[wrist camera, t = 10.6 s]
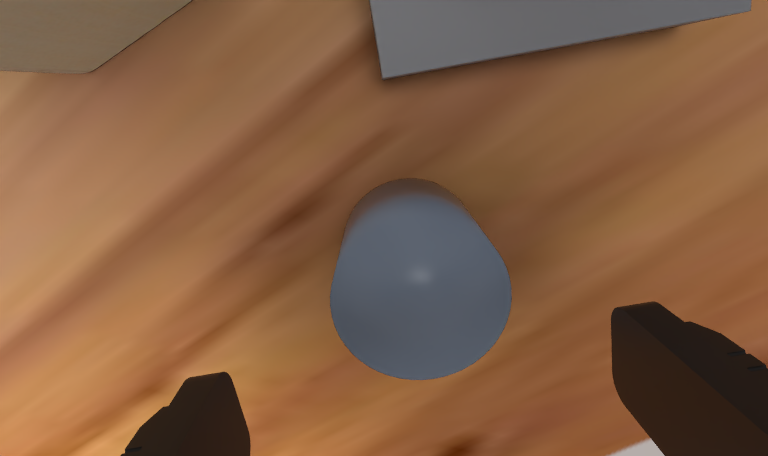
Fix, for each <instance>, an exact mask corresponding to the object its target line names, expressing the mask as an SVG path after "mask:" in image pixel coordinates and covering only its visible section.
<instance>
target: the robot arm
mask: <svg viewBox="0 0 768 456" xmlns="http://www.w3.org/2000/svg"><path fill="white" fill-rule="evenodd" d="M611 336H612V373H613V380H614V384H615V387H616V390H617V392H618V395H619V397H620V399H621V401H622V402H623V404H624V405H625V407H626V408H627V409H628V410H629V412H630V413H631V414H632V415H633V417H634V418H635V419H636V420H637V422H638V423H639V424H640V425H641V427H642V428H643V429H644V430H645V432H646V433H647V434H648V435H649V437H650V438H651V439H652V440H653V441H654V443H655V444H656V445H657V446H658V448H659V449H660V450H661V451H662V453H663V454H664V455H665V456H768V369H767V368H766V365H765V364H764V363H762V362H761V361H760V360H758V359H757V358H755V357H754V356H752V355H751V354H746V353H745V350H744V349H742V348H741V347H739V346H738V345H737V344H735V343H734V342H732V341H731V340H729V339H728V338H727V337H725V336H724V335H722V334H721V333H718V332H716V331H713V330H711V329H708V328H706V327H703V326H701V325H698V324H696V323H693V322H683V321H682V320H681V319H679V318H678V317H677V316H675V315H674V314H673V313H671V312H670V311H669V310H667V309H666V308H665V307H663V306H662V305H661V304H659V303H657V302H647V303H641V304H635V305H629V306H623V307H617V308H615V309H614V310H613V312H612V315H611ZM121 456H250V436H249V431H248V428H247V425H246V421H245V418H244V415H243V412H242V409H241V406H240V403H239V400H238V397H237V394H236V391H235V388H234V384H233V382H232V379H231V377H230V375H229V374H228V373H226V372H220V373H214V374H208V375H202V376H196V377H190V378H188V379H186V380H185V382H184V383H183V385H182V386H181V388H180V389H179V391H178V392H177V394H176V395H175V397H174V398H173V400H172V402H171V403H170V405H169V406H166V407H163V408H161V409H160V410H159V411H158V412H157V413H156V414H155V415H154V416H152V417H151V418H150V419H149V420H148V421H147V422H146V423H144V424H143V425H142V426H141V427H140V428H139V430H138V431H137V433H136V434H135V436H134V437H133V438H132V440H131V441H130V443H129V444H128V446H127V447H126V449H125V454H121Z"/></svg>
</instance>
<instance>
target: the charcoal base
mask: <svg viewBox="0 0 768 456" xmlns="http://www.w3.org/2000/svg"><path fill="white" fill-rule="evenodd" d="M369 4H370V10H371V16H372V22H373V28H374V34H375V40H376V46H377V52H378V58H379V64H380V70H381V76H382V80H386V79H391V78H396V77H402V76H407V75H413V74H418V73H424V72H429V71H435V70H440V69H446V68H451V67H457V66H462V65H468V64H473V63H479V62H484V61H490V60H495V59H500V58H506V57H511V56H517V55H522V54H528V53H533V52H539V51H544V50H550V49H555V48H561V47H566V46H572V45H577V44H583V43H588V42H594V41H599V40H604V39H610V38H615V37H621V36H626V35H632V34H637V33H643V32H648V31H654V30H659V29H665V28H670V27H676V26H681V25H686V24H690V23H695V22H700V21H705V20H709V19H714V18H719V17H724V16H728V15H733V14H738V13H743V12H748V11H751V0H369Z"/></svg>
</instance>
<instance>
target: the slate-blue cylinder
mask: <svg viewBox="0 0 768 456" xmlns="http://www.w3.org/2000/svg"><path fill="white" fill-rule="evenodd" d="M511 300H512V296H511V283H510V277H509V274H508V271H507V268H506V266H505V264H504V262H503V260H502V258H501V256H500V255H499V253H498V252H497V250H496V249H495V248H494V246H493V245H492V243H491V242H490V241H489V239H488V238H487V237H486V235H485V234H484V232H483V231H482V230H481V228H480V227H479V226H478V224H477V223H476V221H475V220H474V219H473V217H472V216H471V215H470V213H469V212H468V210H467V209H466V208H465V206H464V205H463V204H462V202H461V201H460V200H459V199H458V198H457V197H456V196H455V195H454V194H453V193H451V192H450V191H449V190H447V189H446V188H444V187H442V186H441V185H438V184H436V183H434V182H430V181H427V180H422V179H409V178H407V179H398V180H394V181H390V182H387V183H385V184H382V185H380V186H378V187H376V188H375V189H373V190H372V191H370V192H369V193H367V194H366V195H365V196H364V197H363V198H362V199H361V200H360V201H359V202H358V204H357V205H356V206H355V207H354V209H353V211H352V212H351V214H350V216H349V219H348V221H347V224H346V228H345V232H344V236H343V240H342V244H341V248H340V252H339V257H338V261H337V265H336V269H335V273H334V277H333V282H332V286H331V294H330V307H331V314H332V319H333V322H334V325H335V328H336V330H337V332H338V334H339V336H340V338H341V340H342V341H343V343H344V344H345V346H346V347H347V348H348V349H349V350H350V351H351V353H352V354H353V355H355V356H356V357H357V358H358V359H359V360H360V361H362V362H363V363H364V364H366V365H367V366H369V367H371V368H373V369H374V370H376V371H378V372H381V373H383V374H386V375H389V376H393V377H397V378H401V379H409V380H426V379H435V378H440V377H444V376H447V375H450V374H453V373H456V372H458V371H460V370H463V369H465V368H466V367H468V366H470V365H471V364H473V363H475V362H476V361H477V360H478V359H480V358H481V357H482V356H484V355H485V354H486V353H487V352H488V351H489V350H490V349H491V347H492V346H493V345H494V344H495V342H496V341H497V340H498V338H499V336H500V335H501V333H502V331H503V329H504V327H505V325H506V322H507V320H508V316H509V312H510V308H511Z"/></svg>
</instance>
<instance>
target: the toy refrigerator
mask: <svg viewBox="0 0 768 456" xmlns="http://www.w3.org/2000/svg"><path fill="white" fill-rule="evenodd" d="M190 1H192V0H0V71H17V72H41V73H69V74H82V73H88V72H91V71H93V70H95V69H96V68H98V67H99V66H101V65H102V64H103V63H105V62H106V61H108V60H109V59H110V58H112V57H113V56H115V55H116V54H117V53H119V52H120V51H122V50H123V49H124V48H126V47H127V46H129V45H130V44H132V43H133V42H135V41H136V40H137V39H139V38H140V37H141V36H143V35H144V34H145V33H147V32H148V31H150V30H151V29H153V28H155V27H156V26H157V25H159V24H160V23H161V22H162V21H164V20H165V19H166V18H168V17H169V16H171V15H172V14H174V13H175V12H176V11H178V10H180V9H181V8H182V7H184V6H185V5H186V4H187V3H189V2H190Z"/></svg>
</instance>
